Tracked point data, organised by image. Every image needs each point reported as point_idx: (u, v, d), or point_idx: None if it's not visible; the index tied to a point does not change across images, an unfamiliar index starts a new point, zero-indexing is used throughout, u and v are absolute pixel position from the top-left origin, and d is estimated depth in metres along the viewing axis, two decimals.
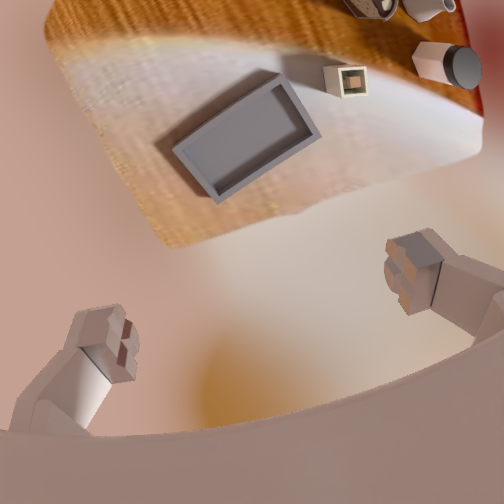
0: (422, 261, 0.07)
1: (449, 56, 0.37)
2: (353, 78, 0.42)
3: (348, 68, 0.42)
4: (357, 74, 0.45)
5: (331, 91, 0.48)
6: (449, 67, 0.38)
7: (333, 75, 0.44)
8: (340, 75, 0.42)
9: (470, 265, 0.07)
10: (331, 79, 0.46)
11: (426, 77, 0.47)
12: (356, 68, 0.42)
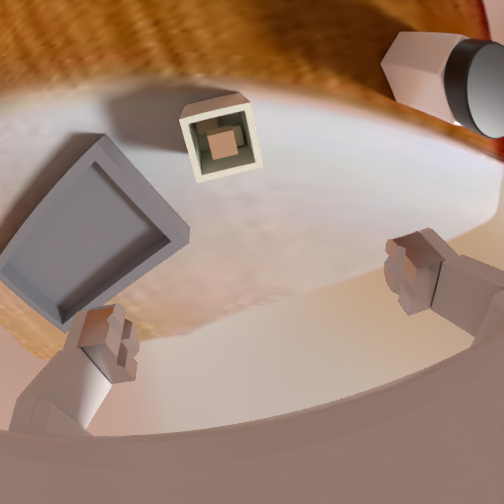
0: (422, 261, 0.07)
1: (459, 63, 0.16)
2: (217, 137, 0.21)
3: (205, 115, 0.20)
4: (243, 118, 0.23)
5: None
6: (458, 89, 0.17)
7: None
8: (187, 135, 0.21)
9: (470, 265, 0.07)
10: None
11: (409, 104, 0.25)
12: (225, 111, 0.20)
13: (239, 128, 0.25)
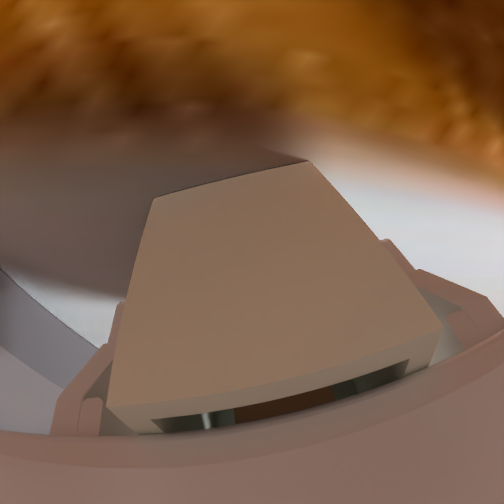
0: None
1: None
2: None
3: (228, 399, 0.04)
4: None
5: None
6: None
7: None
8: None
9: (426, 281, 0.07)
10: None
11: None
12: (330, 378, 0.04)
13: None
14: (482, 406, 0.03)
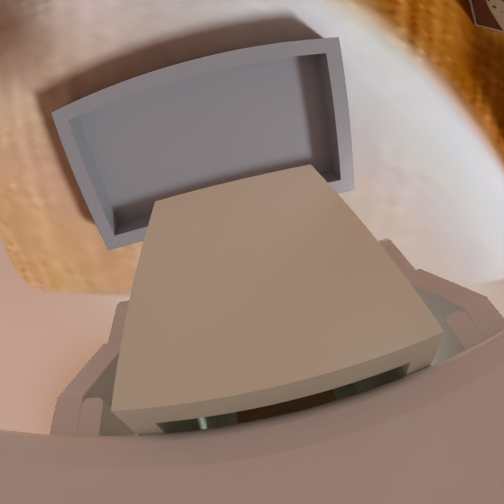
0: None
1: None
2: None
3: (232, 403, 0.04)
4: None
5: None
6: None
7: None
8: None
9: (426, 281, 0.07)
10: None
11: None
12: (332, 382, 0.04)
13: None
14: (482, 406, 0.03)
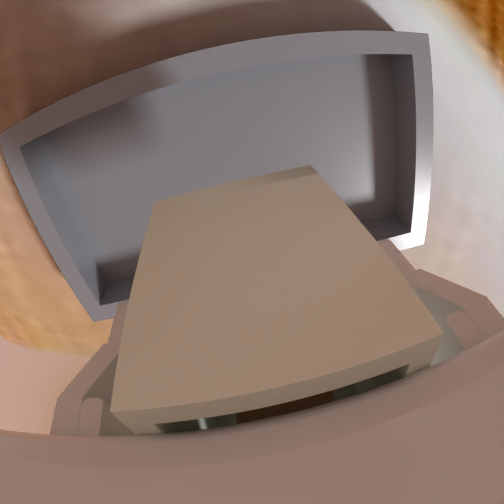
0: None
1: None
2: None
3: (231, 404, 0.04)
4: None
5: None
6: None
7: None
8: None
9: (426, 281, 0.07)
10: None
11: None
12: (331, 383, 0.04)
13: None
14: (482, 406, 0.03)
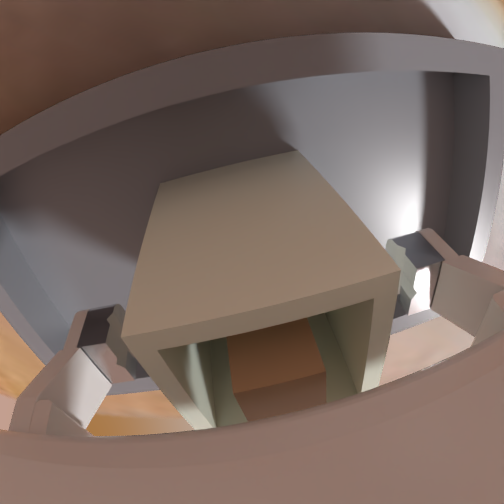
0: (422, 261, 0.07)
1: None
2: (267, 392, 0.06)
3: (222, 325, 0.05)
4: None
5: None
6: None
7: None
8: (164, 375, 0.06)
9: (470, 265, 0.07)
10: None
11: None
12: (305, 309, 0.05)
13: None
14: (482, 406, 0.03)
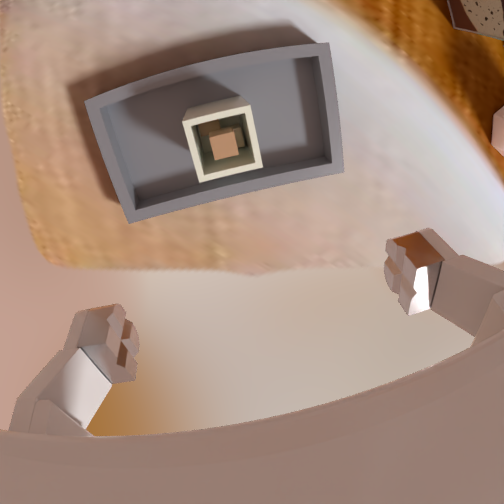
0: (422, 261, 0.07)
1: None
2: (218, 139, 0.22)
3: (207, 117, 0.21)
4: (243, 120, 0.24)
5: None
6: None
7: None
8: (190, 136, 0.22)
9: (470, 265, 0.07)
10: None
11: (503, 149, 0.31)
12: (226, 114, 0.21)
13: (240, 130, 0.26)
14: (482, 406, 0.03)
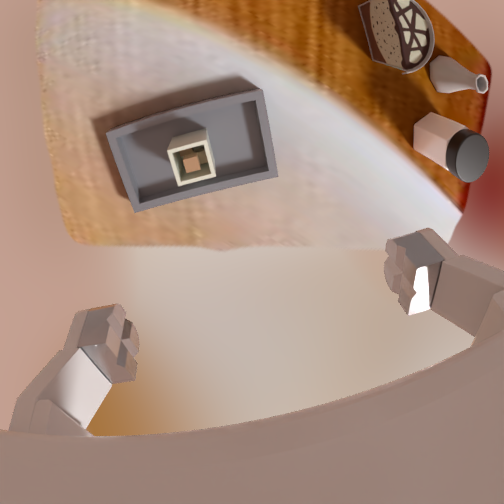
0: (422, 261, 0.07)
1: (459, 138, 0.37)
2: (188, 160, 0.37)
3: (181, 148, 0.37)
4: None
5: None
6: (453, 150, 0.37)
7: None
8: (172, 159, 0.37)
9: (470, 265, 0.07)
10: None
11: (421, 152, 0.46)
12: (192, 145, 0.37)
13: (205, 152, 0.42)
14: (482, 406, 0.03)
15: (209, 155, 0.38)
